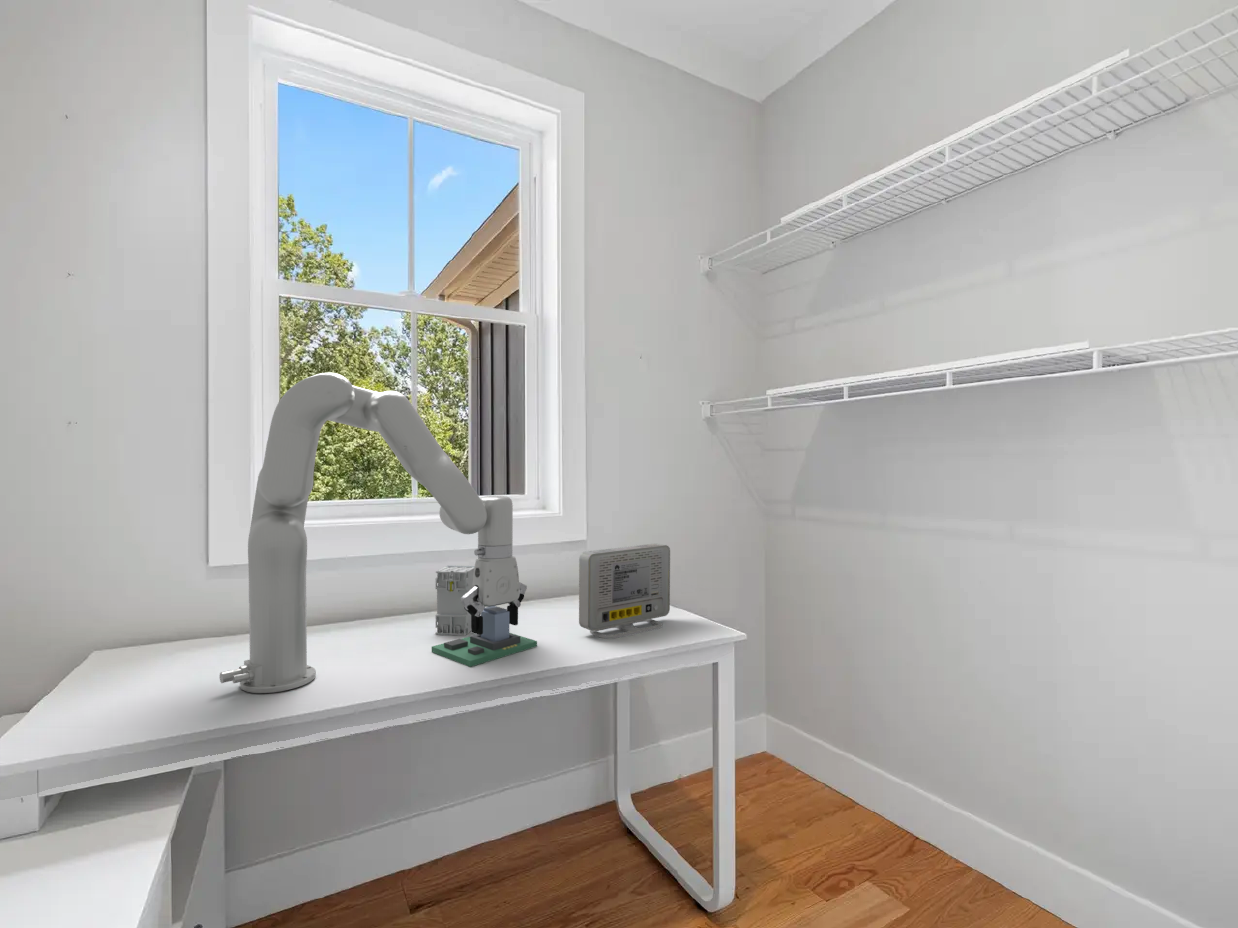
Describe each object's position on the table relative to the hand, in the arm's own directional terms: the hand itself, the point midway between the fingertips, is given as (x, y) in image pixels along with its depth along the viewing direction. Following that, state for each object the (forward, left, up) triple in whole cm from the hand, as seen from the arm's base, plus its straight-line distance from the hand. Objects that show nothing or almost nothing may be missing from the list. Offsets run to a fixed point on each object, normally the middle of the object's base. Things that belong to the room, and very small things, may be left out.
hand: (495, 628), depth 140 cm
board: (-2, +1, -4) cm, 5 cm away
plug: (0, 0, -3) cm, 3 cm away
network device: (+31, -12, -4) cm, 34 cm away
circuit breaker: (+5, +20, -4) cm, 21 cm away
